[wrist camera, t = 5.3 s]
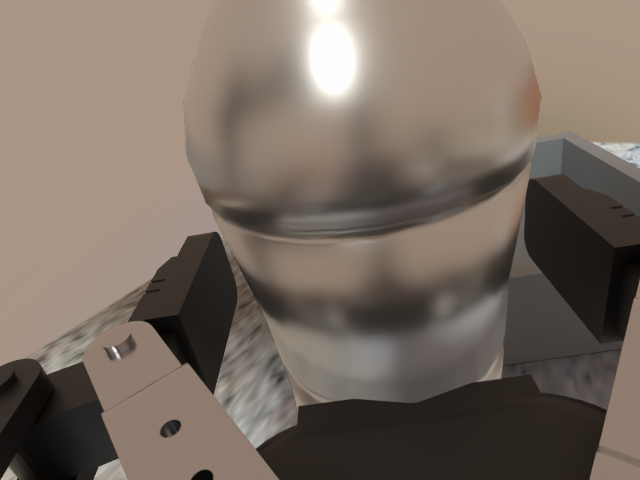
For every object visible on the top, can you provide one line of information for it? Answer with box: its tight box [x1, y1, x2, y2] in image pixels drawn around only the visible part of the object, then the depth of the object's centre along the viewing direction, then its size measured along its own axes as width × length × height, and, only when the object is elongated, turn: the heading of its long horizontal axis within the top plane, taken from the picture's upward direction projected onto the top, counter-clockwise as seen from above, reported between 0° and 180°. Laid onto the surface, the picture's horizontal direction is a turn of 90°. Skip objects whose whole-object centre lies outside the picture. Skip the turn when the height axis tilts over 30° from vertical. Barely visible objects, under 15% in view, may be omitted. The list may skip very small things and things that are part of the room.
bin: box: [503, 132, 640, 365], centre depth 27 cm, size 20×16×5 cm
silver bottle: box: [183, 0, 541, 412], centre depth 11 cm, size 6×7×20 cm
